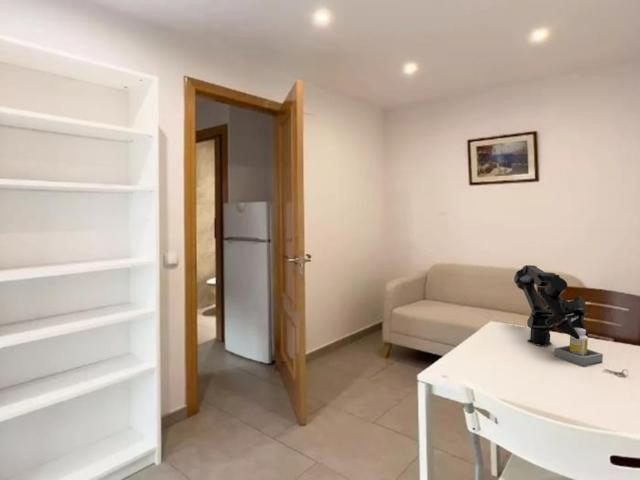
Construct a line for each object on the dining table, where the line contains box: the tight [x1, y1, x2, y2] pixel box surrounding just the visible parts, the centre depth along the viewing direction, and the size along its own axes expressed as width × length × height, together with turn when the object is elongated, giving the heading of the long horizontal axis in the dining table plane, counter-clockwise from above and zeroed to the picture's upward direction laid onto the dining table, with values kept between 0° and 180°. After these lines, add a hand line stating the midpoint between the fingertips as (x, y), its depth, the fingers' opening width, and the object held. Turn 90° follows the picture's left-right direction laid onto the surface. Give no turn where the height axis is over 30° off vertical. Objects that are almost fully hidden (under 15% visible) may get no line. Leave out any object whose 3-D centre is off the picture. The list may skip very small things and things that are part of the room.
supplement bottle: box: [569, 328, 589, 357], centre depth 141 cm, size 5×5×10 cm
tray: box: [554, 344, 604, 367], centre depth 142 cm, size 11×11×3 cm
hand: (583, 337), depth 140 cm, fingers closed on supplement bottle, 5 cm apart
